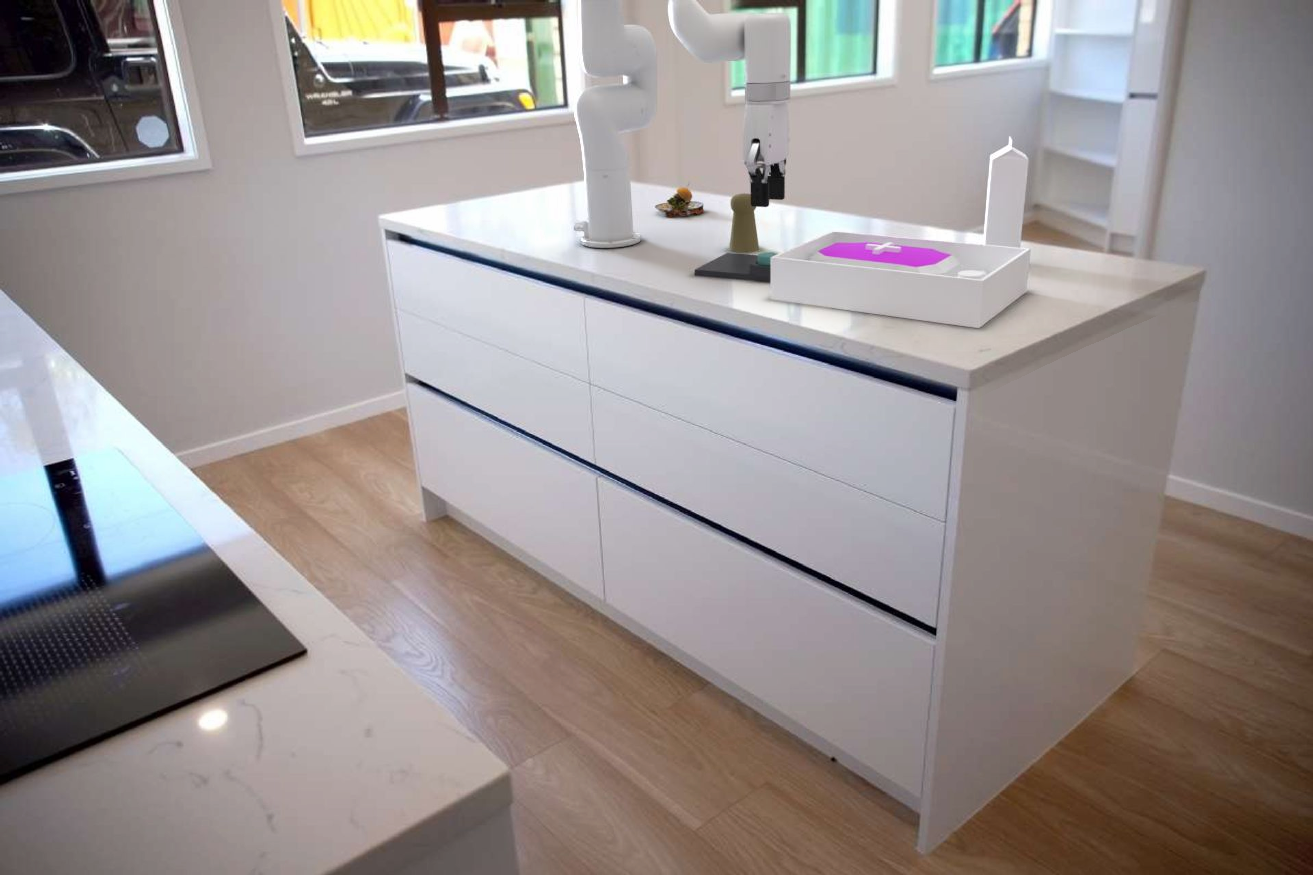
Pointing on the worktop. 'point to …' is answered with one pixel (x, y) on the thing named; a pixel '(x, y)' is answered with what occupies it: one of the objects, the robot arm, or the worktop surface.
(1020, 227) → the milk
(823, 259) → the white tray with pad
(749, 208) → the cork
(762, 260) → the button
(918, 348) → the worktop surface
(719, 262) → the scale
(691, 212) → the multicoloured piece
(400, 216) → the worktop surface
